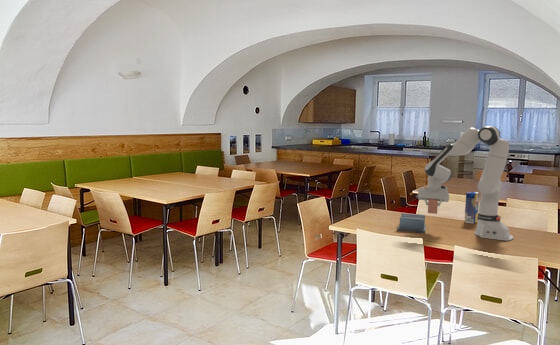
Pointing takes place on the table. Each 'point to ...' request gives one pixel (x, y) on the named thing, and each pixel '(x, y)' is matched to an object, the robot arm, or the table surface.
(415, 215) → the sliding jaw
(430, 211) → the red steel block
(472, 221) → the beverage box
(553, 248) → the table surface
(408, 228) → the blue slanted stand
